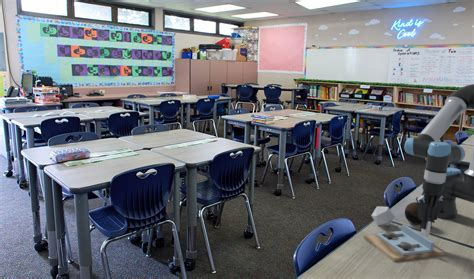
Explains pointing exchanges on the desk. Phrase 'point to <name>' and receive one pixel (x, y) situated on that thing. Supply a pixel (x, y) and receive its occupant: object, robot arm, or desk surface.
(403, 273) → the desk surface
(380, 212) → the die
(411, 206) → the toy
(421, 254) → the board
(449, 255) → the desk surface
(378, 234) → the panel
